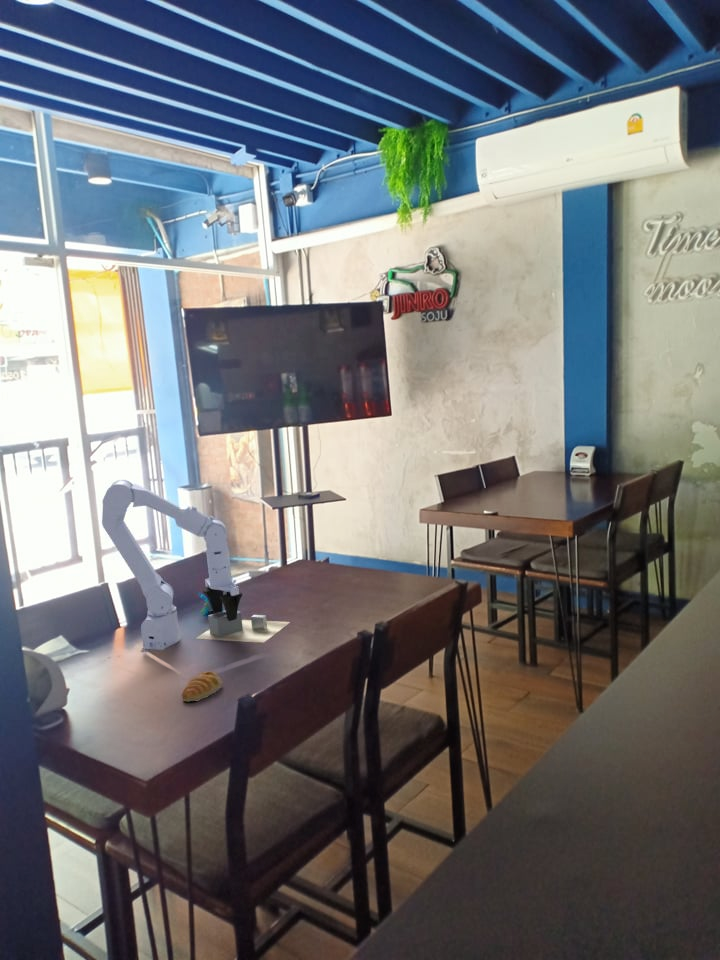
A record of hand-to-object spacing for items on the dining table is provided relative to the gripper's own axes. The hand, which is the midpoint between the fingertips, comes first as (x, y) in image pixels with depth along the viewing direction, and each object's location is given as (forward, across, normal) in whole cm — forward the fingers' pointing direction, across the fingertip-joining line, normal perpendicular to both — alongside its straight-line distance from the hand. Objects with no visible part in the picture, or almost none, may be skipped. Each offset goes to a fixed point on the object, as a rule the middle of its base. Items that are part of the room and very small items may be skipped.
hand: (225, 616), depth 193 cm
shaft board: (+5, -2, -4) cm, 7 cm away
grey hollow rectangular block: (+4, 0, 0) cm, 4 cm away
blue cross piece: (+5, +19, -6) cm, 20 cm away
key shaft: (+5, -5, -7) cm, 10 cm away
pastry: (+6, -28, +21) cm, 36 cm away
